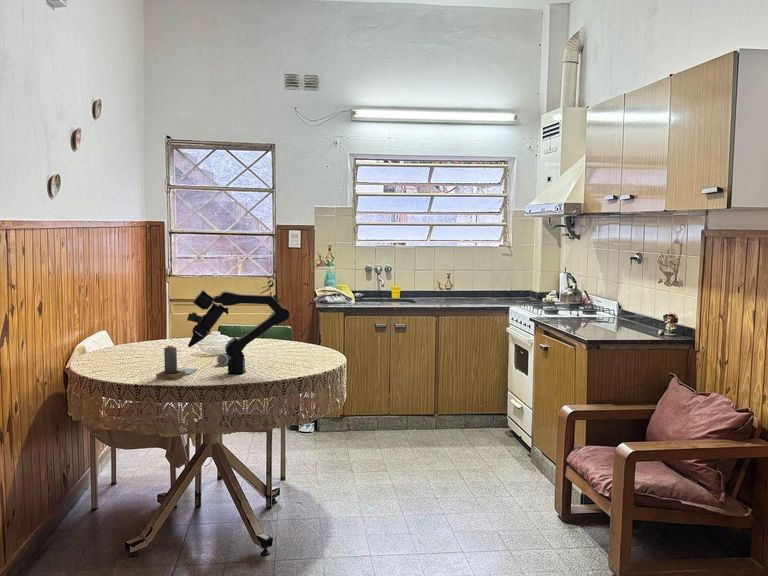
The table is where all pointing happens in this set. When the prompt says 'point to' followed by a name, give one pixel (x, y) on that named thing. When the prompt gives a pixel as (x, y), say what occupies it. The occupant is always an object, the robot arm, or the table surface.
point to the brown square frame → (170, 375)
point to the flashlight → (223, 359)
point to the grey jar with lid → (170, 359)
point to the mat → (187, 371)
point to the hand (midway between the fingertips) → (189, 345)
